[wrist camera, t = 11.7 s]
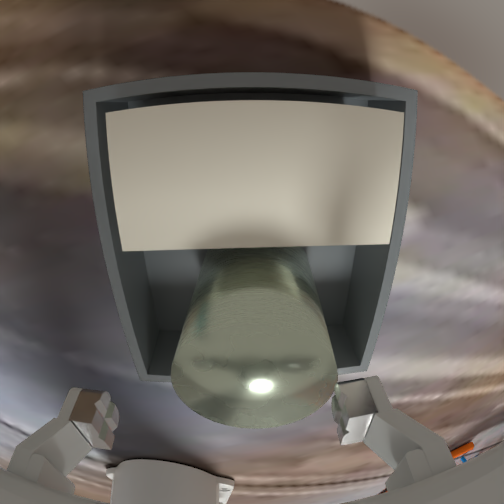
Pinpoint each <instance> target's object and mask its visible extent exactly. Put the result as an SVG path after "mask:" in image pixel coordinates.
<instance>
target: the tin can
mask: <svg viewBox="0 0 504 504" xmlns="http://www.w3.org/2000/svg"><path fill="white" fill-rule="evenodd" d="M171 381H172V384H173V387H174V389H175V391H176V393H177V395H178V396H179V398H180V399H181V400H182V401H183V402H184V403H185V404H186V405H187V406H188V407H189V408H191V409H192V410H193V411H195V412H196V413H198V414H199V415H201V416H203V417H205V418H207V419H210V420H212V421H214V422H217V423H221V424H224V425H228V426H233V427H239V428H271V427H278V426H282V425H287V424H290V423H293V422H296V421H298V420H301V419H303V418H305V417H307V416H309V415H311V414H312V413H314V412H315V411H317V410H318V409H319V408H321V407H322V406H323V405H324V404H325V403H326V402H327V401H328V400H329V398H330V397H331V395H332V394H333V392H334V388H335V384H336V383H337V381H338V371H337V366H336V361H335V357H334V353H333V349H332V346H331V342H330V338H329V334H328V330H327V326H326V322H325V319H324V315H323V311H322V307H321V304H320V300H319V297H318V293H317V289H316V286H315V282H314V279H313V275H312V272H311V268H310V265H309V261H308V258H307V255H306V253H305V251H304V249H303V248H302V246H292V247H255V248H219V249H208V251H207V253H206V255H205V258H204V261H203V264H202V267H201V270H200V273H199V276H198V280H197V283H196V286H195V289H194V292H193V296H192V299H191V302H190V305H189V309H188V312H187V315H186V319H185V322H184V325H183V329H182V332H181V336H180V339H179V342H178V346H177V349H176V353H175V356H174V360H173V363H172V367H171Z"/></svg>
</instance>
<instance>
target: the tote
mask: <svg viewBox="0 0 504 504" xmlns="http://www.w3.org/2000/svg"><path fill="white" fill-rule="evenodd" d="M233 100H278V101H304V102H320V103H333V104H343V105H353V106H362V107H370V108H377V109H384V110H391V111H397V112H403V113H404V125H403V141H402V153H401V164H400V173H399V182H398V190H397V198H396V205H395V212H394V219H393V225H392V231H391V237H390V242H389V244H374V245H332V246H302V248H303V249H304V251H305V253H306V255H307V258H308V261H309V265H310V268H311V272H312V275H313V279H314V282H315V286H316V289H317V293H318V297H319V300H320V304H321V307H322V311H323V315H324V319H325V322H326V326H327V330H328V334H329V338H330V342H331V346H332V349H333V353H334V357H335V361H336V366H337V371H338V375H341V374H348V373H356V372H363V371H367V369H368V366H369V363H370V360H371V357H372V354H373V351H374V348H375V345H376V341H377V338H378V335H379V331H380V328H381V325H382V321H383V317H384V314H385V310H386V306H387V303H388V299H389V295H390V291H391V287H392V283H393V278H394V274H395V270H396V265H397V260H398V256H399V251H400V246H401V241H402V235H403V230H404V224H405V218H406V212H407V206H408V199H409V192H410V185H411V176H412V168H413V158H414V147H415V135H416V119H417V90H413V89H409V88H404V87H399V86H394V85H388V84H383V83H377V82H370V81H364V80H357V79H349V78H341V77H332V76H322V75H310V74H294V73H268V72H235V73H209V74H193V75H181V76H171V77H162V78H154V79H146V80H139V81H133V82H126V83H120V84H115V85H109V86H104V87H99V88H95V89H90V90H85V91H83V106H84V123H85V136H86V147H87V157H88V166H89V174H90V181H91V189H92V195H93V202H94V208H95V214H96V219H97V225H98V230H99V235H100V240H101V245H102V250H103V254H104V259H105V263H106V268H107V272H108V276H109V280H110V284H111V288H112V292H113V296H114V299H115V303H116V307H117V310H118V314H119V317H120V320H121V324H122V327H123V330H124V334H125V337H126V340H127V343H128V346H129V349H130V352H131V355H132V358H133V361H134V364H135V367H136V369H137V372H138V375H139V378H140V380H141V381H155V382H172V381H171V367H172V363H173V360H174V356H175V353H176V349H177V346H178V342H179V339H180V336H181V332H182V329H183V325H184V322H185V319H186V315H187V312H188V309H189V305H190V302H191V299H192V296H193V292H194V289H195V286H196V283H197V280H198V276H199V273H200V270H201V267H202V264H203V261H204V258H205V255H206V253H207V251H208V249H184V250H151V251H122V245H121V240H120V234H119V228H118V222H117V216H116V210H115V203H114V196H113V189H112V181H111V172H110V163H109V153H108V142H107V129H106V113H107V112H114V111H120V110H126V109H134V108H141V107H149V106H158V105H167V104H178V103H191V102H207V101H233Z"/></svg>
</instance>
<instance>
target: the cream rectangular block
mask: <svg viewBox="0 0 504 504" xmlns="http://www.w3.org/2000/svg"><path fill="white" fill-rule="evenodd" d="M403 125H404V113H403V112H397V111H391V110H384V109H377V108H370V107H362V106H353V105H343V104H333V103H320V102H304V101H278V100H233V101H207V102H191V103H178V104H167V105H158V106H149V107H141V108H134V109H126V110H120V111H114V112H107V113H106V129H107V142H108V153H109V163H110V172H111V181H112V189H113V196H114V203H115V210H116V216H117V222H118V228H119V234H120V240H121V245H122V251H151V250H184V249H219V248H255V247H292V246H332V245H374V244H389V242H390V237H391V231H392V225H393V219H394V212H395V205H396V198H397V190H398V182H399V173H400V164H401V153H402V141H403Z"/></svg>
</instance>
